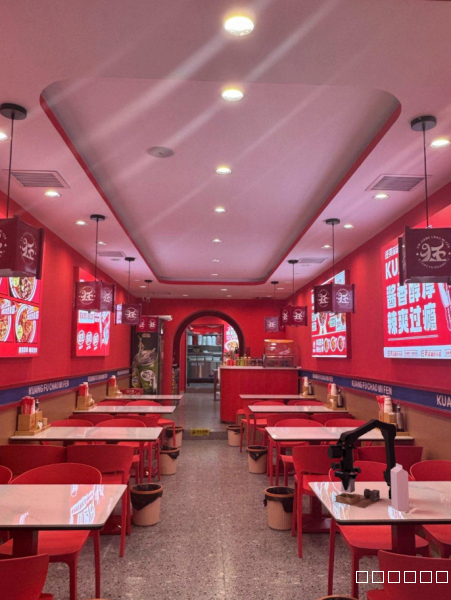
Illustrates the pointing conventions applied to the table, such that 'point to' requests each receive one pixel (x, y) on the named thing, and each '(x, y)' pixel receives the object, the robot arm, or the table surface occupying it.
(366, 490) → the wheel
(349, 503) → the frame
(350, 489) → the block
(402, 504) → the milk
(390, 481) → the robot arm
